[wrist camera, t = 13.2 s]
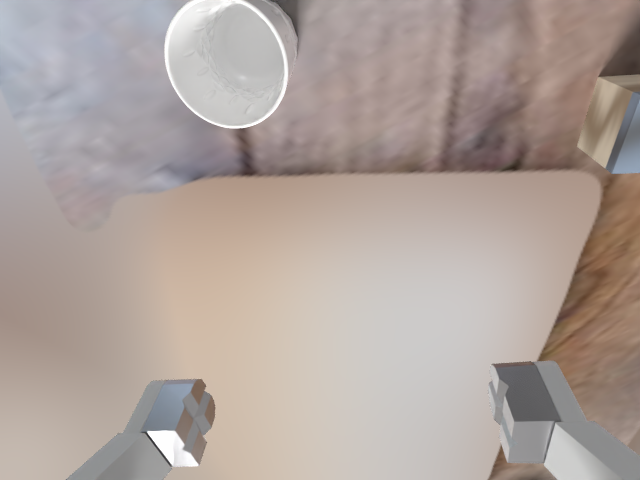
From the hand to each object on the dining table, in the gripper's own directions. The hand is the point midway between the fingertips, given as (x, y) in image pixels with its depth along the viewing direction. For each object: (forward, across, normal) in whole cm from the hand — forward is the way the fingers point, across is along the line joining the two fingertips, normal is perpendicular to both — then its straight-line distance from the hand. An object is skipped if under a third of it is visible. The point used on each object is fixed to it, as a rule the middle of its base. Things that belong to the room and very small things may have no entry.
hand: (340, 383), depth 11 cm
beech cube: (+23, -23, +4) cm, 33 cm away
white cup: (+29, +7, -6) cm, 31 cm away
